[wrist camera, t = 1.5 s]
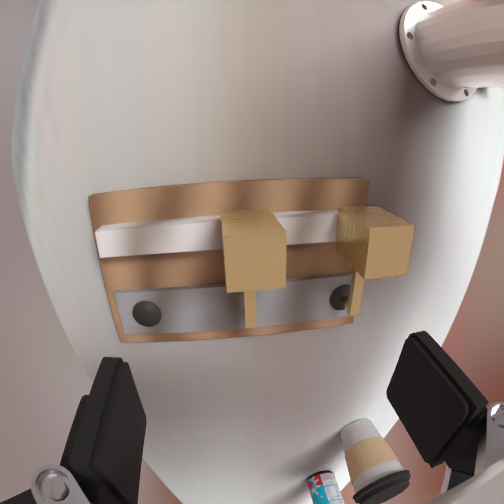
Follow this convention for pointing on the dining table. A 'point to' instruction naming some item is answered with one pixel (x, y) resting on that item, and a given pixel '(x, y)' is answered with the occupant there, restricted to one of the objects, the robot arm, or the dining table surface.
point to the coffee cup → (371, 464)
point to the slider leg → (253, 256)
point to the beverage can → (324, 488)
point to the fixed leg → (371, 247)
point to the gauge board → (220, 257)
